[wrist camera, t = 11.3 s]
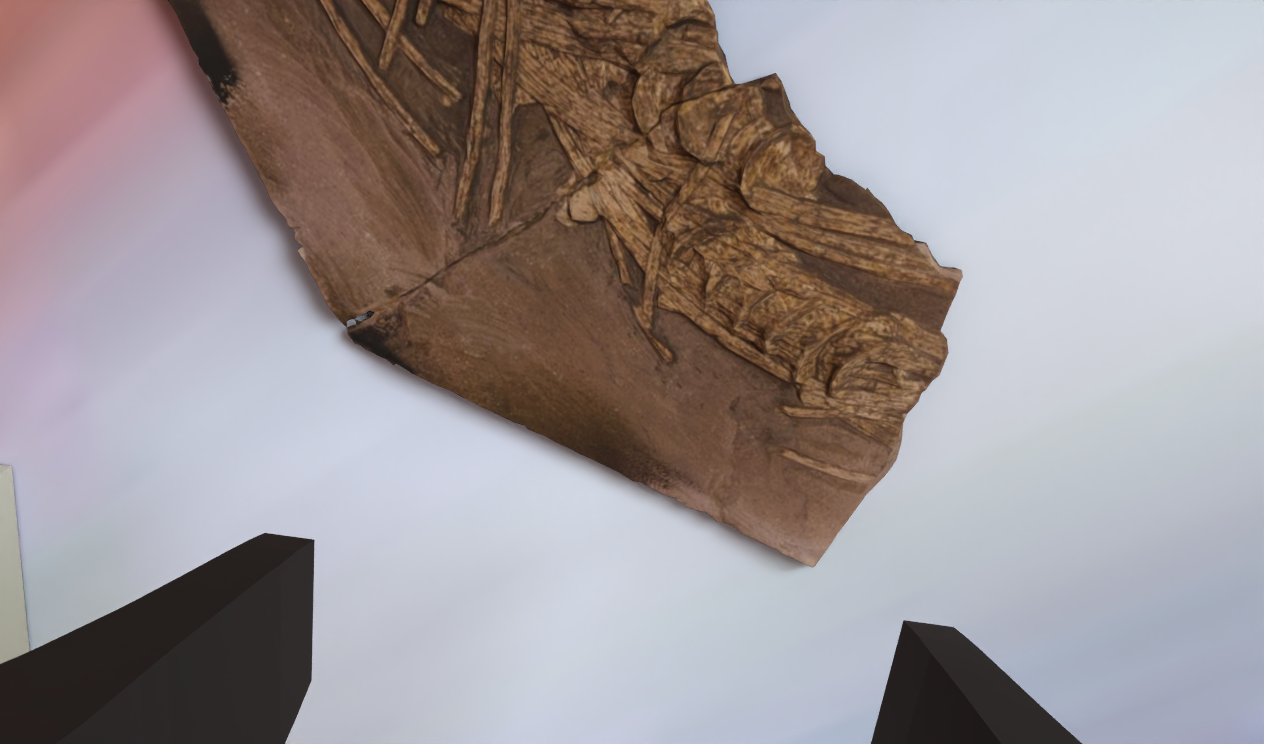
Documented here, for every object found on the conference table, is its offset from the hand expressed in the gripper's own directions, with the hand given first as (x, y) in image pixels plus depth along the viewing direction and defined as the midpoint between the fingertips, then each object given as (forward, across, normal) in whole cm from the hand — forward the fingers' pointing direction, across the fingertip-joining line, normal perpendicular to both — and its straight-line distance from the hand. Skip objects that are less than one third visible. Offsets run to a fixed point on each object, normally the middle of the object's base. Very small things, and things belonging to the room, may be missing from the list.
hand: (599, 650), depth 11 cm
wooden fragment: (+10, +4, -6) cm, 12 cm away
